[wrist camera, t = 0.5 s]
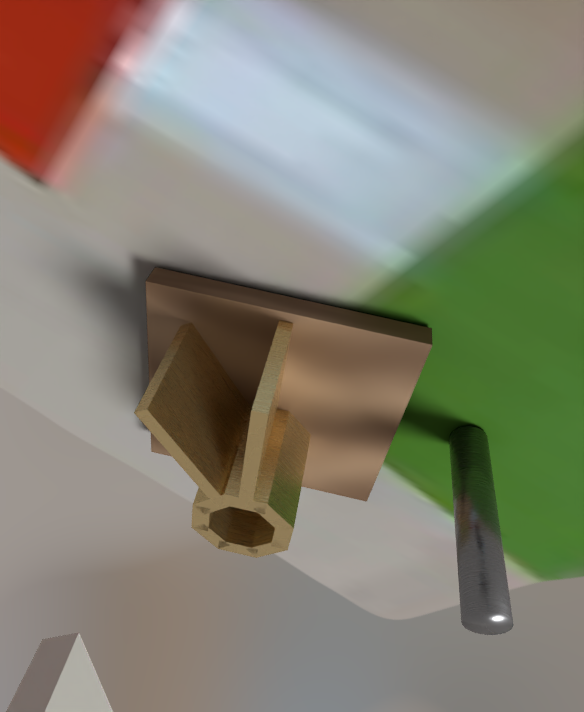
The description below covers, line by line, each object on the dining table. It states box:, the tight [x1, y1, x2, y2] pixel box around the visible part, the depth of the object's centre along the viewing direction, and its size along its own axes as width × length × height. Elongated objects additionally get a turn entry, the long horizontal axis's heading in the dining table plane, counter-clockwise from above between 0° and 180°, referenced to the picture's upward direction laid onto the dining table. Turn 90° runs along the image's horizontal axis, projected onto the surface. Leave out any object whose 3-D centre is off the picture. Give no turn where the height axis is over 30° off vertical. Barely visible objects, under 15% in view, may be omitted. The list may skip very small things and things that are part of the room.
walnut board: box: [146, 267, 432, 501], centre depth 35 cm, size 15×16×2 cm
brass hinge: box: [134, 320, 311, 558], centre depth 32 cm, size 13×9×7 cm
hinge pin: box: [449, 426, 513, 635], centre depth 31 cm, size 2×2×12 cm
